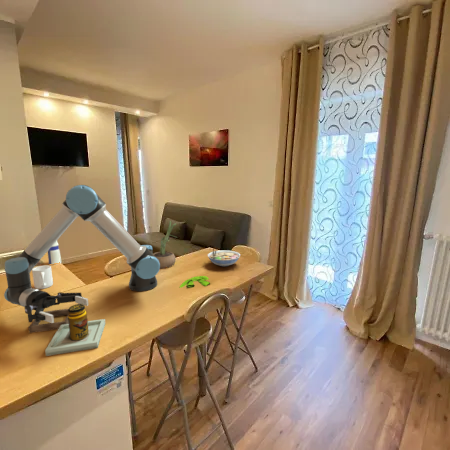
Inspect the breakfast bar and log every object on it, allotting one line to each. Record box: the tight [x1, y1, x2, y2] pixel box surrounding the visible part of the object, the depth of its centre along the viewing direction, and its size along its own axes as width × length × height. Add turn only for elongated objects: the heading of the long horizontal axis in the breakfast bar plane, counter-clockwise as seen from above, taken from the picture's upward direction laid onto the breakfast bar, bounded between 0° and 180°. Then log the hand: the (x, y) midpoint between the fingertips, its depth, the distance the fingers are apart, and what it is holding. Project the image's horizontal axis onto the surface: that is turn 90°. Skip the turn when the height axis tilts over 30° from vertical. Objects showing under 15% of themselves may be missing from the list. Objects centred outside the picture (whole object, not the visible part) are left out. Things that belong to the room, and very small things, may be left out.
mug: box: [31, 264, 54, 290], centre depth 142 cm, size 9×12×11 cm
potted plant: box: [153, 220, 181, 269], centre depth 179 cm, size 22×18×30 cm
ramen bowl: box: [207, 248, 241, 267], centre depth 179 cm, size 25×23×8 cm
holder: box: [27, 308, 69, 334], centre depth 107 cm, size 13×12×2 cm
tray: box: [44, 318, 106, 357], centre depth 97 cm, size 16×16×2 cm
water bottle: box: [47, 240, 62, 265], centre depth 181 cm, size 8×9×25 cm
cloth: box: [179, 275, 211, 289], centre depth 147 cm, size 20×22×2 cm
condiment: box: [61, 303, 92, 344], centre depth 95 cm, size 7×8×12 cm
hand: (71, 310), depth 95 cm, fingers open, 13 cm apart
